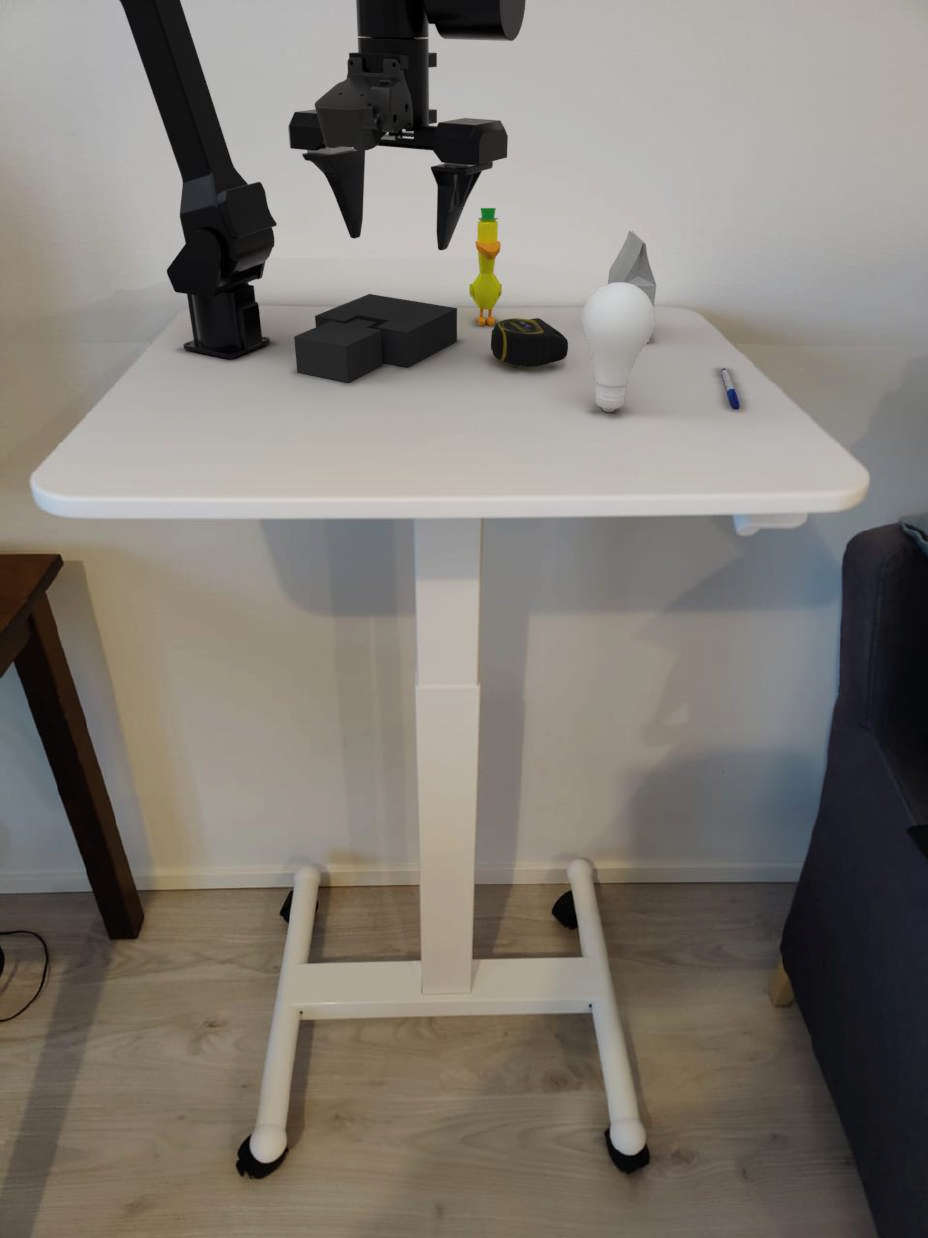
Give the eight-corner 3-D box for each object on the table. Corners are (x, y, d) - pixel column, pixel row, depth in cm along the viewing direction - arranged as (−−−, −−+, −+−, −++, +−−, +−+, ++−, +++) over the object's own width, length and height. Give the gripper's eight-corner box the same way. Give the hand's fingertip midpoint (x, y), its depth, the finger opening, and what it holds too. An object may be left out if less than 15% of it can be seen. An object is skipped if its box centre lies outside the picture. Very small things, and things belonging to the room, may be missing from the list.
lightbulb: (648, 404, 84) (664, 278, 77) (636, 427, 79) (652, 295, 73) (582, 395, 85) (593, 271, 79) (566, 418, 80) (576, 288, 74)
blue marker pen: (741, 411, 83) (743, 400, 82) (731, 411, 83) (733, 400, 82) (726, 373, 92) (727, 363, 91) (717, 373, 92) (718, 363, 91)
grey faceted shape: (615, 342, 99) (625, 243, 93) (603, 324, 104) (613, 230, 99) (649, 342, 99) (661, 243, 93) (636, 324, 105) (647, 230, 99)
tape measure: (569, 370, 91) (572, 332, 89) (503, 376, 89) (505, 337, 87) (543, 349, 96) (545, 313, 94) (481, 355, 95) (482, 318, 93)
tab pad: (296, 372, 89) (293, 336, 88) (344, 350, 95) (342, 315, 93) (348, 382, 87) (346, 345, 85) (393, 359, 93) (392, 324, 91)
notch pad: (317, 349, 95) (314, 315, 93) (370, 325, 103) (369, 293, 101) (408, 367, 91) (407, 331, 89) (456, 341, 98) (457, 307, 96)
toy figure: (505, 332, 101) (509, 214, 95) (473, 332, 101) (475, 214, 94) (497, 314, 107) (501, 203, 100) (467, 315, 107) (468, 203, 100)
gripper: (236, 36, 72) (258, 247, 80) (444, 43, 65) (444, 275, 73) (320, 34, 80) (332, 226, 89) (514, 40, 73) (506, 249, 81)
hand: (398, 243), depth 83 cm, fingers open, 9 cm apart
